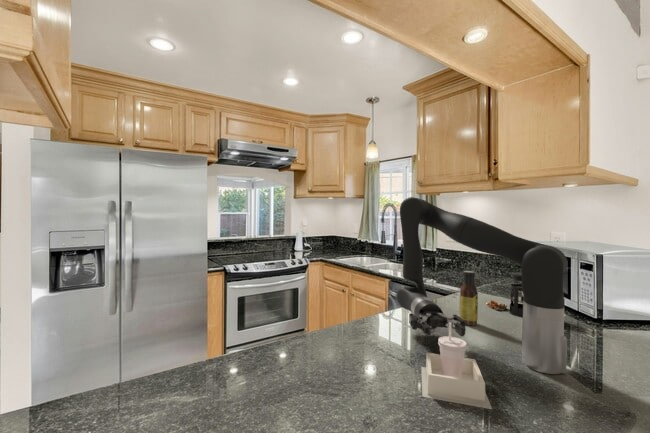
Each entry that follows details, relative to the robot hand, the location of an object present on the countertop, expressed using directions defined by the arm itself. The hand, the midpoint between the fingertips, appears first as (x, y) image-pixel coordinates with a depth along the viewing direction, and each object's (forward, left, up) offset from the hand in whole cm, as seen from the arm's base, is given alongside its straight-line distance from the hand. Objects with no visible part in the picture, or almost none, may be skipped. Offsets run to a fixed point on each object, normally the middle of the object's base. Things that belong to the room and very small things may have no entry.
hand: (446, 332), depth 78 cm
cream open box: (-1, +5, -11) cm, 12 cm away
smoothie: (-1, +5, -10) cm, 11 cm away
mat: (-1, +5, -11) cm, 12 cm away
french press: (-36, -64, -12) cm, 75 cm away
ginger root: (-28, -72, -12) cm, 78 cm away
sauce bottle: (-12, -45, -12) cm, 48 cm away
